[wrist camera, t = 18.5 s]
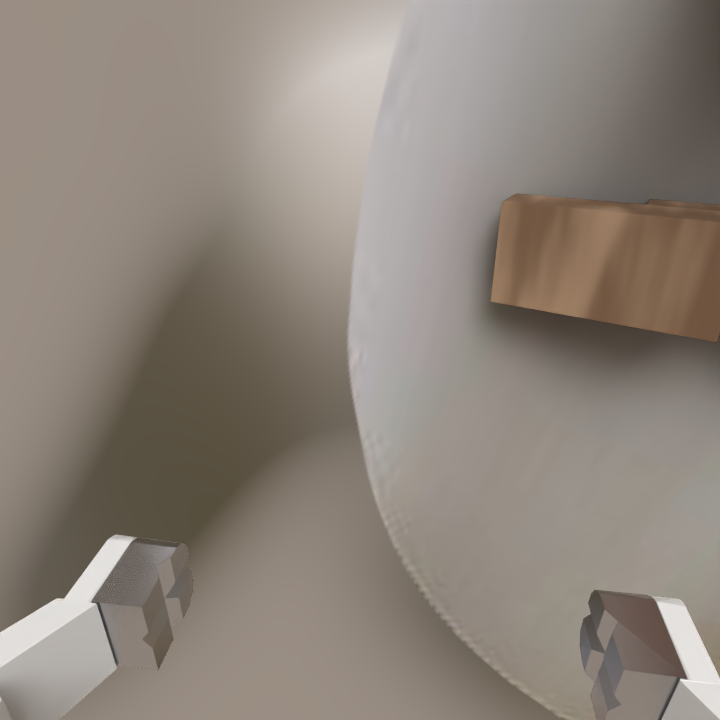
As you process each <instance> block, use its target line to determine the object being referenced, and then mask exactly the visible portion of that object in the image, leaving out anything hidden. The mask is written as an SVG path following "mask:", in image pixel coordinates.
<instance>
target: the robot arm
mask: <svg viewBox="0 0 720 720" xmlns="http://www.w3.org/2000/svg"><path fill="white" fill-rule="evenodd" d="M188 557H189V555H188V551H187V547H186V545H185V544H181V543H174V542H167V541H160V540H153V539H146V538H139V537H130V536H121V535H114V536H112V537H111V538H109V539H108V540H107V541H106V543H105V544H104V545H103V547H102V548H101V550H100V551H99V552H98V554H97V555H96V556H95V558H94V559H93V560H92V562H91V563H90V564H89V566H88V567H87V568H86V570H85V571H84V573H83V574H82V575H81V577H80V578H79V579H78V581H77V582H76V583H75V585H74V586H73V587H72V589H71V590H70V592H69V593H68V595H67V596H66V597H65V598H64V599H59V598H57V599H55V600H53V601H52V602H50V603H49V604H47V605H45V606H43V607H42V608H40V609H39V610H37V611H35V612H34V613H32V614H30V615H29V616H27V617H25V618H24V619H22V620H20V621H19V622H17V623H15V624H14V625H12V626H10V627H9V628H7V629H5V630H4V631H2V632H0V720H59V719H60V718H61V717H63V716H64V715H65V714H66V713H67V712H68V711H69V710H70V709H71V708H73V707H74V706H75V705H76V704H77V703H78V702H79V701H80V700H82V699H83V698H84V697H85V696H86V695H87V694H89V693H90V692H91V691H92V690H93V689H94V688H95V687H96V686H98V685H99V684H100V683H101V682H102V681H103V680H104V679H106V678H107V677H108V676H109V675H110V674H111V673H112V672H113V671H115V670H116V668H117V666H124V667H133V668H142V669H152V670H159V668H160V666H161V664H162V662H163V660H164V657H165V656H166V653H167V651H168V649H169V647H170V645H171V643H172V641H173V635H172V630H171V628H172V627H173V626H174V625H176V624H177V623H178V622H180V621H181V620H182V619H183V618H184V616H185V614H186V612H187V610H188V607H189V605H190V600H191V597H192V592H193V576H192V571H191V570H190V569H189V568H188V567H186V565H185V563H186V561H187V559H188ZM588 604H589V608H590V612H591V614H590V615H588V616H587V617H585V618H583V622H582V626H581V630H580V651H581V659H582V663H583V667H584V671H585V673H586V674H587V675H588V676H589V677H590V678H591V679H592V680H593V681H594V686H593V689H592V692H591V695H590V696H591V700H592V704H593V708H594V712H595V716H596V720H720V677H719V675H718V673H717V671H716V669H715V667H714V665H713V663H712V661H711V659H710V657H709V655H708V652H707V650H706V648H705V646H704V644H703V642H702V640H701V638H700V636H699V634H698V632H697V629H696V627H695V625H694V623H693V621H692V619H691V617H690V615H689V613H688V611H687V609H686V606H685V604H684V603H683V602H682V601H681V600H680V599H675V598H666V597H657V596H648V595H642V594H632V593H622V592H612V591H603V590H594V591H593V592H592V593H591V595H590V598H589V602H588Z"/></svg>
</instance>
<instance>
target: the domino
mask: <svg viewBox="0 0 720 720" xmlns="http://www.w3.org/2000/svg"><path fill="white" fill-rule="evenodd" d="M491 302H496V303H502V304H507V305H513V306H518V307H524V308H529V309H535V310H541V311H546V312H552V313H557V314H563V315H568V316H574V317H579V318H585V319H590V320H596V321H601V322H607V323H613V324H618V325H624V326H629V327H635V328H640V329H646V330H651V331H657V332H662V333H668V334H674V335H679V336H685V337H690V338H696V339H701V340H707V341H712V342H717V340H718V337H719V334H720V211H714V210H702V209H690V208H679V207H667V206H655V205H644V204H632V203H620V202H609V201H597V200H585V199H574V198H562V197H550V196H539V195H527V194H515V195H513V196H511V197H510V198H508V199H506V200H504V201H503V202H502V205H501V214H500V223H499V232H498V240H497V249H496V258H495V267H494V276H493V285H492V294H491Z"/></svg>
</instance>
